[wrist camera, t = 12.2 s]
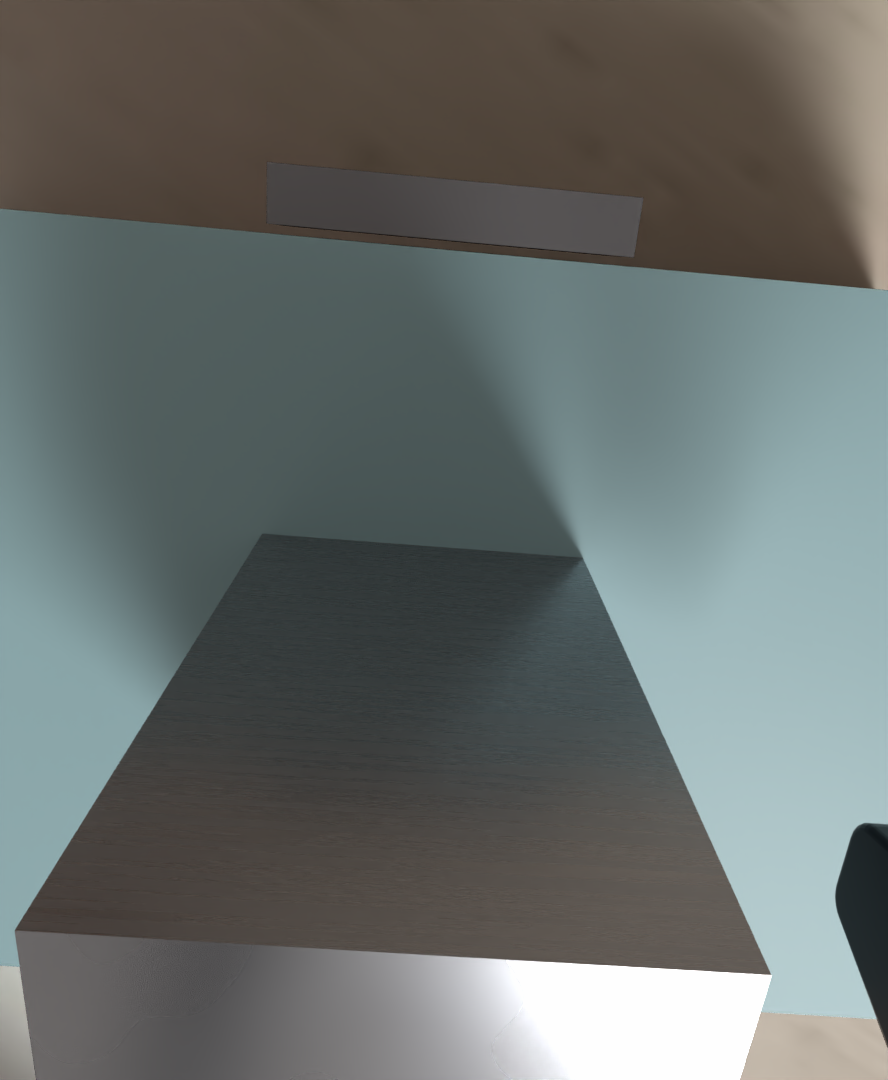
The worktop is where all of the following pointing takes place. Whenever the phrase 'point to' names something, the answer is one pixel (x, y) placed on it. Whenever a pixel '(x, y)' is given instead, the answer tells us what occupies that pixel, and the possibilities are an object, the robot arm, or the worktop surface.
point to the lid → (456, 491)
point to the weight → (394, 847)
